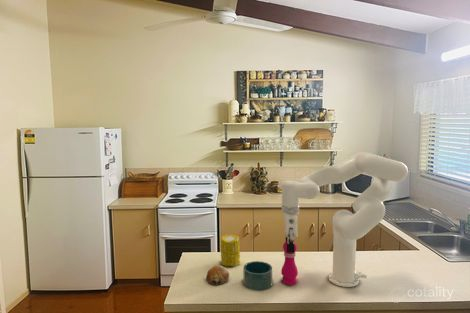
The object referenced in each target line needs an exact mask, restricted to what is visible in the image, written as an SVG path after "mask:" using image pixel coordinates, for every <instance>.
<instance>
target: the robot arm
mask: <svg viewBox="0 0 470 313" xmlns="http://www.w3.org/2000/svg"><path fill="white" fill-rule="evenodd" d="M361 174H366V175H369V176H373V177H374V179H373V182H372V183H371V184H370V185H369V186H368V187H366V189H365V190H364V191H363V192H361V193H360V194H359V195H358V196H356V197H355V199H354V200H353V202H352V209H353V211H354V212H355V213H353V212H351V211H350V210H348V209H340V210H337V211H336V212H335V213H334V214H333V215H332V216H333V217H332V221H331V223H332V233H333V234H332V235H333V245H332V272H331V273H329V275H328V280H329V282H331V283H332V284H334V285H336V286H339V287H343V288H353V287H356V286H358V285H359V282H360V279H367V278H368V277H367V276H368V275H367V273H363V272H362V271H356V263H357V262H356V259H357V240H360V239H361V238H363V237H365V235H367V234H368V233H369V232H370V231H371V230H372V229H374V228H375V227H376V226H378V224H380V222H382V220H383V219H384V217H385V216H386V206H385V204H384V203H385V202H386V200H387V199H388V198H389V197H390V196H391V195H392V193H393V190H394V184H395V183H399V182H403V181H404V180H406V178H407V177H408V175H409V169H408V167H407V165H406V164H405V163H403V162H402V161H398V160H395V159H391V158H388V157H384V156H381V155H378V154H375V153H371V152H367V151H360V152H357V153H354V154H353V155H351V156H349V157H346V158H345V159H343V160H341V161H339V162H337V163H335V164H333V165H329V166H325V167H323V168H321V169H318V170H315V171H313V172H311V173H308V174H307V175H305V176H303V177H301V178H300V179H298V180H293V179H286V180H283V181H282V183H281V214H284V217H283V218H284V219H283V220H284V221H283V222H284V223H283V225H284V231H285V232H284V233H285V242H286V241H287V253H294V246H295V244H294V242H295V238H298V215H299V214H300V199H304V200H305V199H306V200H313V199H316V198H317V197H318V196H319V194H320V190H321V189H320V187H324V186H326V185H338V184H343V183H346V182H348V181H349V180H351V179H353V178H355V177H358V176H359V175H361ZM289 238H290V239H289Z"/></svg>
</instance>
